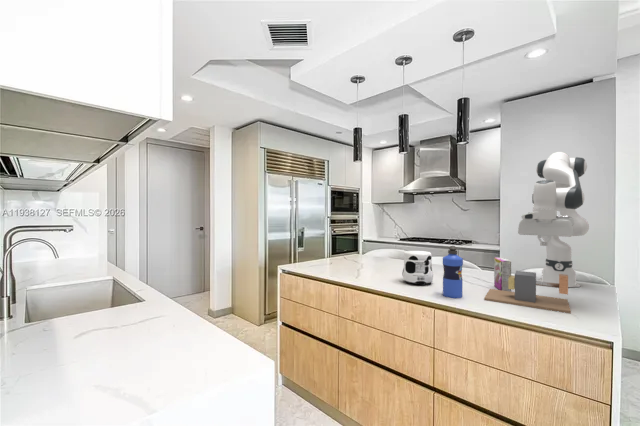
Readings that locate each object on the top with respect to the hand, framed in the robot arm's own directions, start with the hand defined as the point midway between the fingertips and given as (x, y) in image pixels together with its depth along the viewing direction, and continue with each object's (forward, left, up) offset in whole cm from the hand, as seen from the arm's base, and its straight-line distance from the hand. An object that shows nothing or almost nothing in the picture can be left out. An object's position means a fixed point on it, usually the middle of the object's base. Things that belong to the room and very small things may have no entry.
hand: (544, 245), depth 139 cm
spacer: (0, -12, -22) cm, 25 cm away
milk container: (-5, -60, -27) cm, 66 cm away
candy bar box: (-17, -18, -27) cm, 37 cm away
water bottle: (+11, -37, -27) cm, 47 cm away
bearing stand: (0, -7, -27) cm, 28 cm away
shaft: (0, -4, -21) cm, 21 cm away
